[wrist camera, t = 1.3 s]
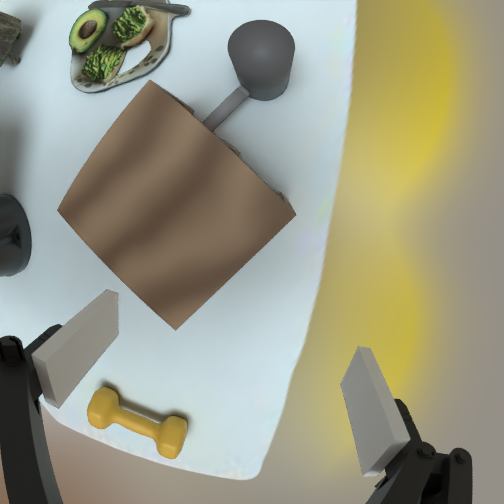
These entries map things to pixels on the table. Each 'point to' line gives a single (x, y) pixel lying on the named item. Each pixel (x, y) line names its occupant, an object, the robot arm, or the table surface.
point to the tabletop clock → (8, 36)
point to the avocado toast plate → (118, 40)
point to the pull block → (257, 65)
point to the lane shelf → (171, 205)
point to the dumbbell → (137, 422)
